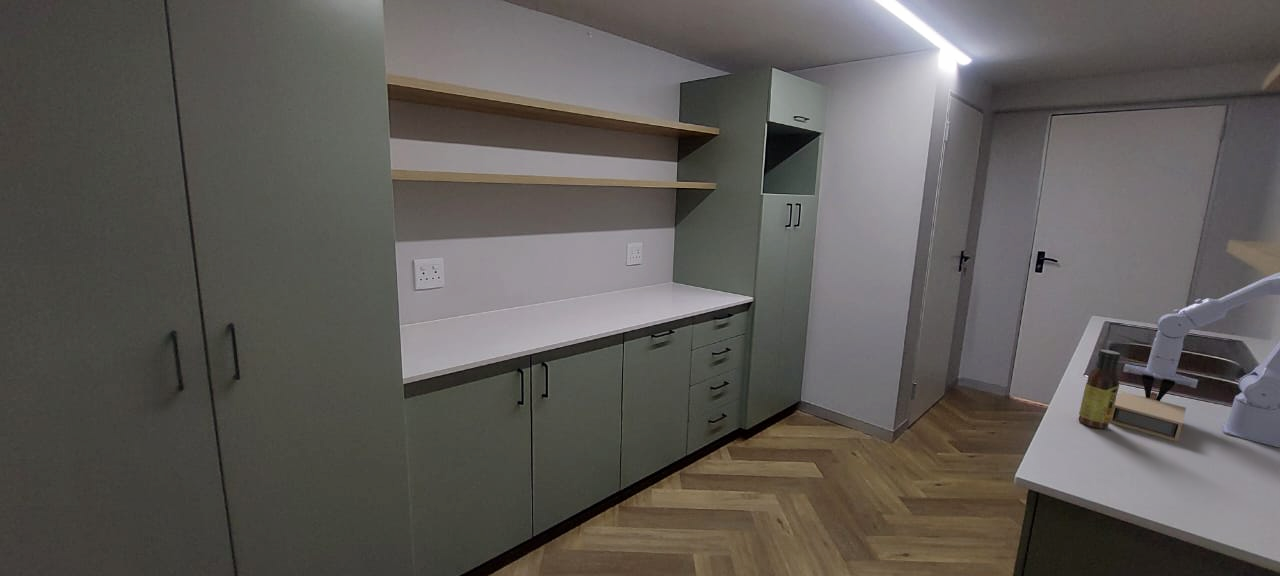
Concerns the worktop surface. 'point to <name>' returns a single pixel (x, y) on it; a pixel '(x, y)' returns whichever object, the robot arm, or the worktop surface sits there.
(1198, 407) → the worktop surface
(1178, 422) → the sleeve
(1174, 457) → the worktop surface
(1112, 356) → the sauce bottle
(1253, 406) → the robot arm
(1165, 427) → the tray
